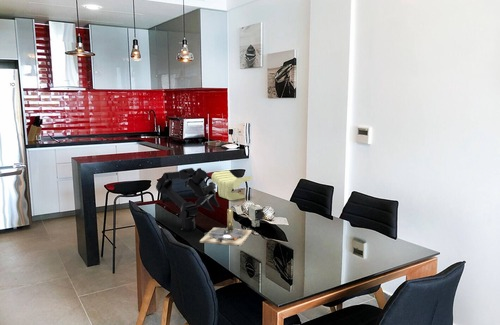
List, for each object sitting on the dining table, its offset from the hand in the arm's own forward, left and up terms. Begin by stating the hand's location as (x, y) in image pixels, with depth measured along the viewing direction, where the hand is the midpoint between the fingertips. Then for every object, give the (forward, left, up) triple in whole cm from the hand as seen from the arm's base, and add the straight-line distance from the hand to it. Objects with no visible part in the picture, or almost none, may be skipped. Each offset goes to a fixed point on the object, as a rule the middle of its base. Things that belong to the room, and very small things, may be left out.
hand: (216, 208), depth 218 cm
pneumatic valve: (+19, +16, -14) cm, 28 cm away
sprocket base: (+8, -6, -13) cm, 16 cm away
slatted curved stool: (-14, +79, -14) cm, 81 cm away
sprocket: (+8, -6, -12) cm, 15 cm away
